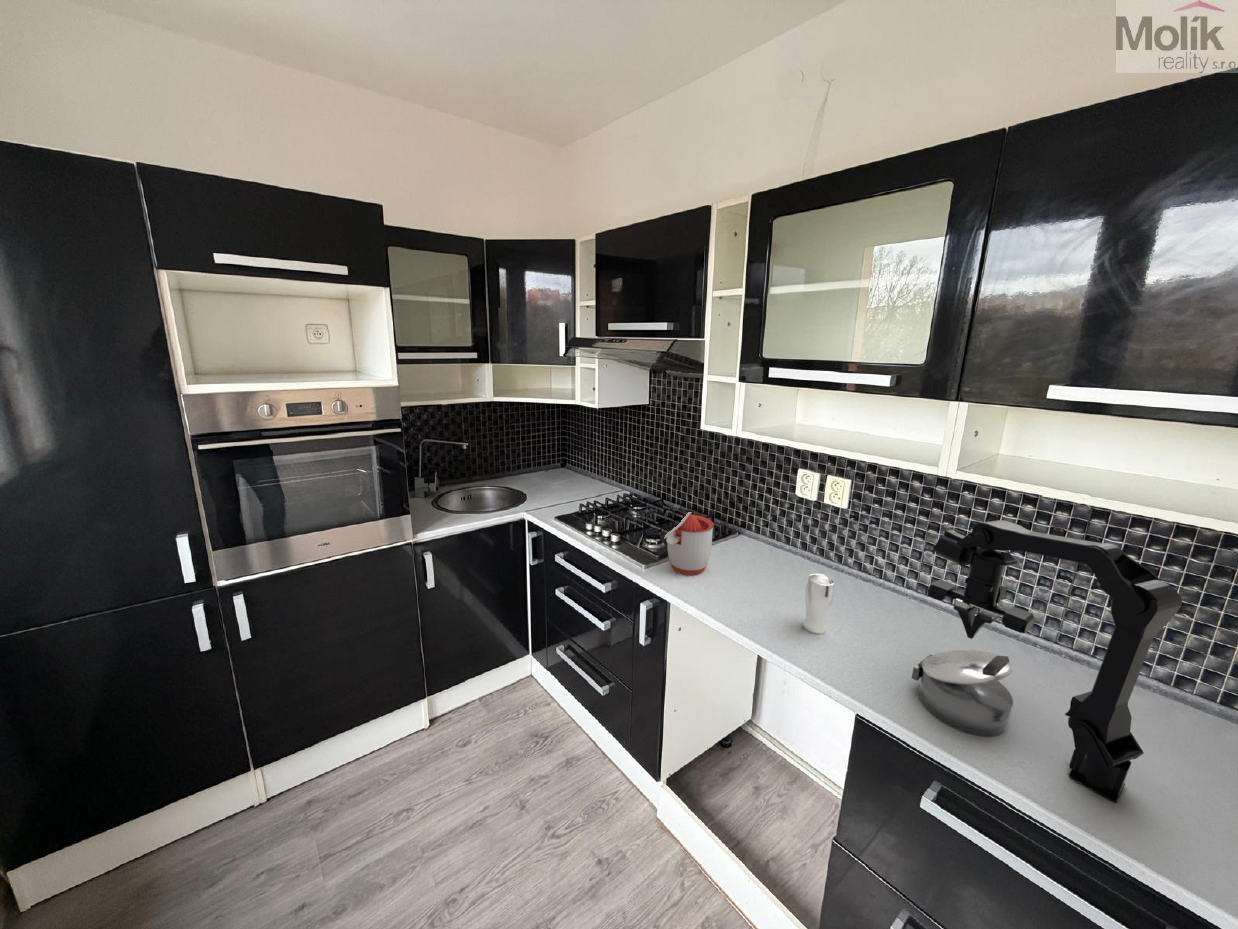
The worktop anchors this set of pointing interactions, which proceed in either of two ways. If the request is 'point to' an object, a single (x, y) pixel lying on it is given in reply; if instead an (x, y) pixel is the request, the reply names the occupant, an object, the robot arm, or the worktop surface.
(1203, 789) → the worktop surface
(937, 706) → the pot
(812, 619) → the beer glass
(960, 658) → the lid
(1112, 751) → the robot arm
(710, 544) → the citrus juicer
